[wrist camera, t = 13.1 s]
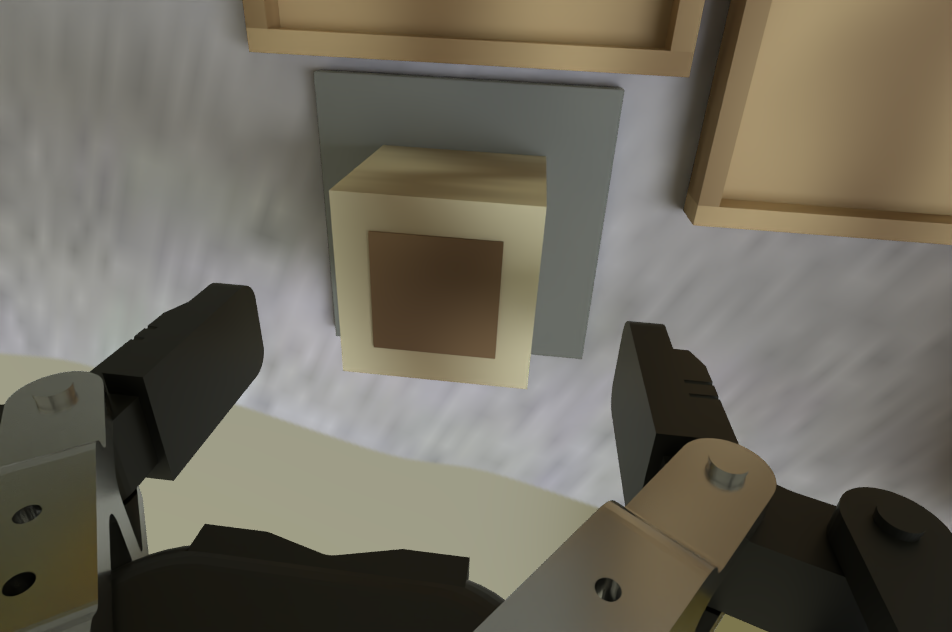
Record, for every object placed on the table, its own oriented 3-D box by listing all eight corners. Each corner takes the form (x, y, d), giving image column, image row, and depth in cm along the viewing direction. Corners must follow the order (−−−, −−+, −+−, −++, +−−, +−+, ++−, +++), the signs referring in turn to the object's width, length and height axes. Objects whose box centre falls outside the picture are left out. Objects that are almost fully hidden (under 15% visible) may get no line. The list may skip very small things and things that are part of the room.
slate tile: (621, 87, 17) (624, 90, 16) (581, 350, 21) (581, 359, 20) (320, 69, 17) (313, 71, 17) (341, 327, 21) (336, 335, 21)
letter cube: (546, 156, 17) (546, 208, 13) (531, 306, 20) (526, 393, 15) (383, 145, 17) (327, 191, 13) (388, 293, 20) (342, 374, 15)
